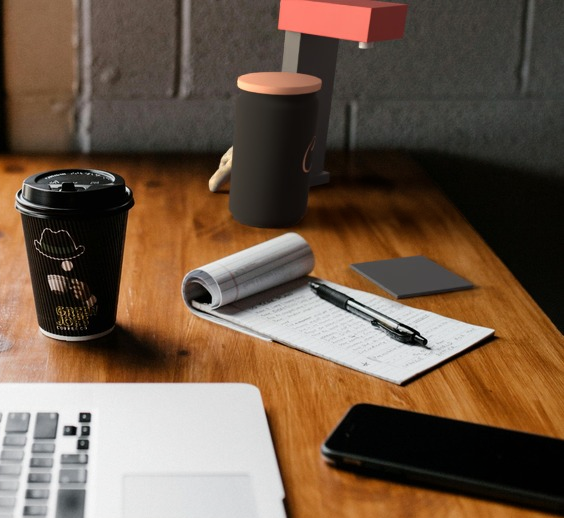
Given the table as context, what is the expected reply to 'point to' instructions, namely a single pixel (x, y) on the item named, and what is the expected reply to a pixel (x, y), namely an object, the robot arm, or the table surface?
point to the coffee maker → (332, 47)
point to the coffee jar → (273, 148)
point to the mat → (410, 276)
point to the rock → (222, 172)
